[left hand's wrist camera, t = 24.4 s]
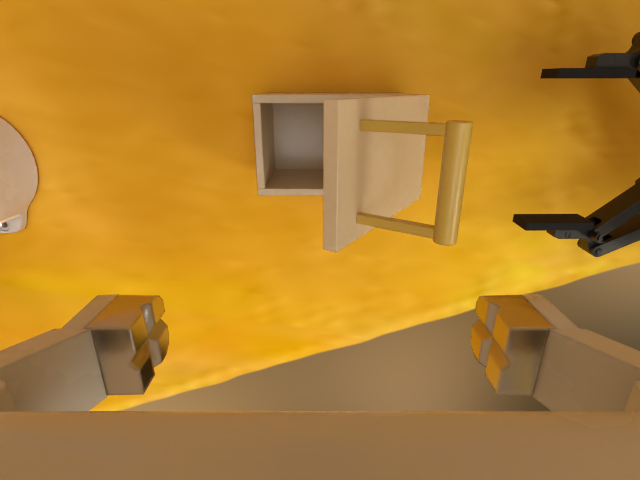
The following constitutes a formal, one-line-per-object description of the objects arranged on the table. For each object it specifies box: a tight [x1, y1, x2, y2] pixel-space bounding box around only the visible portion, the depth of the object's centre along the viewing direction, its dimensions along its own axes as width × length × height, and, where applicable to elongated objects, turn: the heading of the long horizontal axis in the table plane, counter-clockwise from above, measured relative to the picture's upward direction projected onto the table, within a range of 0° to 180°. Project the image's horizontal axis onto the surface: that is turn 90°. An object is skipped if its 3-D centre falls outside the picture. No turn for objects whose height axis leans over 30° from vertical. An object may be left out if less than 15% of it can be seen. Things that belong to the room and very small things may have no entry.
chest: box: [252, 93, 420, 196], centre depth 44 cm, size 16×10×11 cm, turn 90°
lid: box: [323, 95, 473, 252], centre depth 30 cm, size 17×10×8 cm
